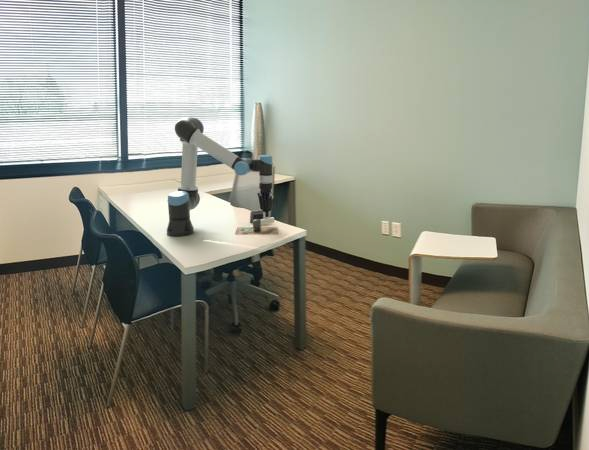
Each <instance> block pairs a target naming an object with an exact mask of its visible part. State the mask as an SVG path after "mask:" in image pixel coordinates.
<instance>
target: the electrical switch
mask: <svg viewBox="0 0 589 450" xmlns="http://www.w3.org/2000/svg"><path fill="white" fill-rule="evenodd" d="M254 219H263V211H262V210H261V209H257V210H256V209H255V210H254V209H253V210H250V214H249V223H250V224H253V220H254Z"/></svg>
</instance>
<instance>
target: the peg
mask: <svg viewBox="0 0 589 450" xmlns="http://www.w3.org/2000/svg"><path fill="white" fill-rule="evenodd" d="M270 224H275V217H273V216H272V217H268V218H266V219H254V220H253V223H252V227H253V229H251V230H246V231H243V232H248V231H261V227H262V226H264V225H270Z"/></svg>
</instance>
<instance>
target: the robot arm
mask: <svg viewBox="0 0 589 450" xmlns="http://www.w3.org/2000/svg"><path fill="white" fill-rule="evenodd" d="M204 129H205V127H204V124H203V122H202V121H201V120H200V119H198V118H195V117H192V116H191V117H182V118H180V119H178V120H177V121H176V122H175V125H174V132H175V134H176V136H177V137H178V138H179V142H180V143H181V144H182V150H181V151H182V152H181V155H182V156H181V171H180V173H181V175H180V185H179V186H178V187H177V191H173V192H169V194H168V195H167V205H168V206H167V207H168V223H167V228H166V235H168V236H170V235H171V236H170V237H184V236H185V235H186V236H189V235H192V234H194V232H195V230H194V226H193V223H192V220H191V214H190V211H192V210H193V209H195V208H197V206H198V205H199V204H200V201H201V196H200V193H199V188H198V187H197V186H196V185H197V167H198V165H197V164H198V163H197V162H198V149H200V150H201V151H203V152H205V153H206V154H208V155H210V156H211V157H213V158H215V159H216V160H217V161H219V162H220V163H222V164H224V165H225V166H227V167H229V168H230V169H232V170H233V171H234V173H235V174H236V175H238V176H246V175H247V174H249V173H252V172H253V173H254V172H256V173H258V174H259V175H258V177H259V178H258V179H259V180H258V181H259V183H258V184H259V185H258V187H259V192H258V193H257V197H258V203H259V208H260V209H259V210H262V211H263V219H266V218H270V216H269V214H270V213H269V212H271V211H272V210H273V209H272V208H273V204H274V199H275V195H273V194H272V189H273V156H272V155H271V154H270V155H269V154H261V155H259V156H258V158H251V157H250V158H248V157H240V156H238V155H237V154H235V153H233V152H232V151H230V150H229V149H227V148H225V147H224V146H222V145H221V144H219V143H218V142H216V141H214V140H213V139H212V138H210V137H208V135H206V134H204Z"/></svg>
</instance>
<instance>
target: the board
mask: <svg viewBox="0 0 589 450" xmlns="http://www.w3.org/2000/svg"><path fill="white" fill-rule="evenodd" d="M251 229H253V226H252V227H251V226H249V227H248V226H247V227H246V226H245V227H241V226H240V227H237V228H236V230H235V233H234V235H236V236H239V235H242V236H243V235H244V236H245V235H251V236H252V235H278V234H279V226H265V227H263V226H261V231H248V232H243V231H246V230H251Z"/></svg>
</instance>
